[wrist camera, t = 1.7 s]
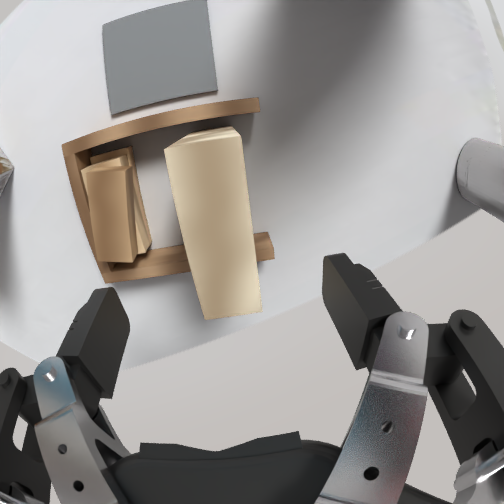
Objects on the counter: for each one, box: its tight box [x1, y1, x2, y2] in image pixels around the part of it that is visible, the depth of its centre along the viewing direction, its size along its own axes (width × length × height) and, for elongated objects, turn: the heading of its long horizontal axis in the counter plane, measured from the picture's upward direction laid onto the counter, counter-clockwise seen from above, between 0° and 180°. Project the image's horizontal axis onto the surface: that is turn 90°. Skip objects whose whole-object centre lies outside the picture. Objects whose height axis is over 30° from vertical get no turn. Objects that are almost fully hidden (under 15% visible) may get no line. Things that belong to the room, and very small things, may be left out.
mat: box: [103, 0, 218, 115], centre depth 18 cm, size 10×10×1 cm
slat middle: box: [81, 154, 150, 254], centre depth 23 cm, size 4×9×2 cm, turn 7°
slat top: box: [86, 166, 138, 262], centre depth 21 cm, size 4×8×2 cm, turn 175°
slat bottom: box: [90, 146, 152, 247], centre depth 24 cm, size 4×10×2 cm, turn 5°
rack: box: [62, 98, 275, 284], centre depth 23 cm, size 17×14×4 cm
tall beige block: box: [164, 126, 263, 320], centre depth 19 cm, size 4×10×13 cm, turn 7°
